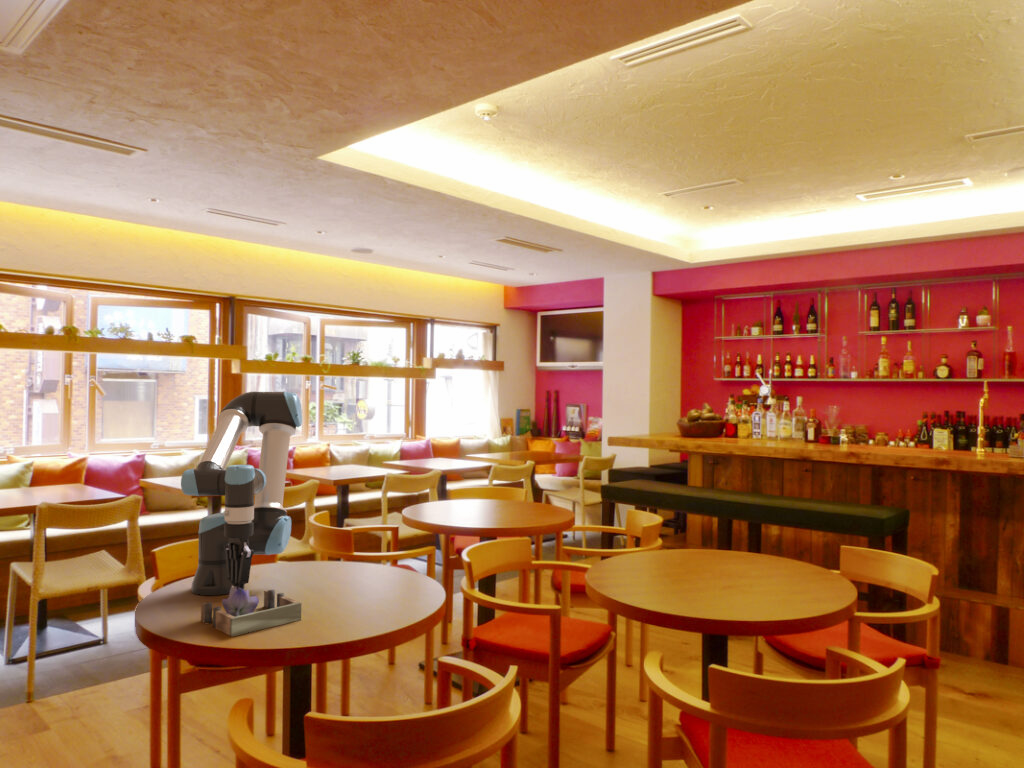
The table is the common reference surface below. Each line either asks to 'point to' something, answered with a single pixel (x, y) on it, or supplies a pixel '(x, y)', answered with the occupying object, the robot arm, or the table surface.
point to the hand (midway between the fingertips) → (237, 608)
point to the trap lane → (254, 615)
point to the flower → (240, 602)
